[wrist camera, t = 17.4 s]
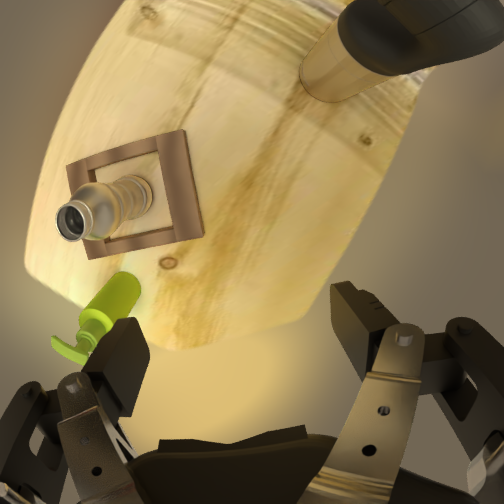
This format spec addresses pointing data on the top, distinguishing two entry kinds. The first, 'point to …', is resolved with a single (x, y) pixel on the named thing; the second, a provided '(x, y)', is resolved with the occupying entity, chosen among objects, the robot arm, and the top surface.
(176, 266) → the top surface
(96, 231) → the plastic bottle
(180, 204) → the brown wooden picture frame
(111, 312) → the soap dispenser
